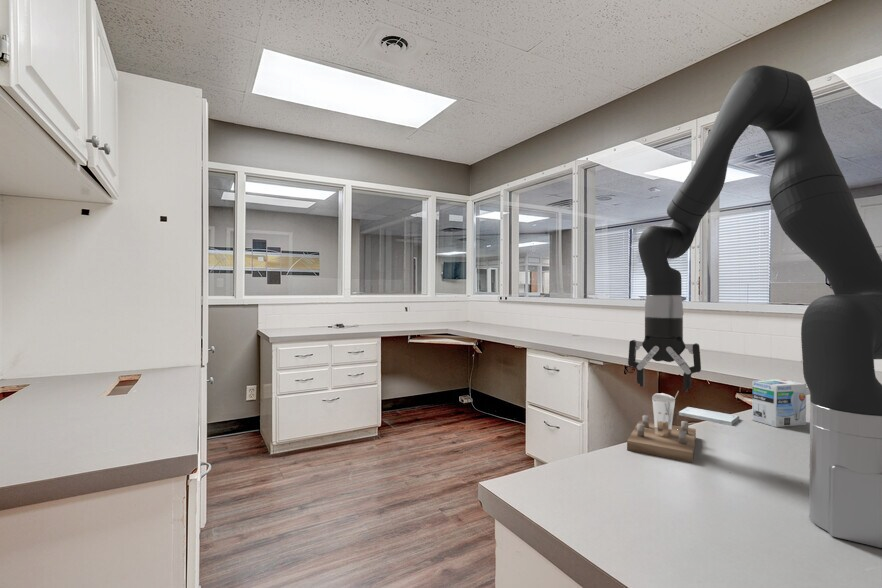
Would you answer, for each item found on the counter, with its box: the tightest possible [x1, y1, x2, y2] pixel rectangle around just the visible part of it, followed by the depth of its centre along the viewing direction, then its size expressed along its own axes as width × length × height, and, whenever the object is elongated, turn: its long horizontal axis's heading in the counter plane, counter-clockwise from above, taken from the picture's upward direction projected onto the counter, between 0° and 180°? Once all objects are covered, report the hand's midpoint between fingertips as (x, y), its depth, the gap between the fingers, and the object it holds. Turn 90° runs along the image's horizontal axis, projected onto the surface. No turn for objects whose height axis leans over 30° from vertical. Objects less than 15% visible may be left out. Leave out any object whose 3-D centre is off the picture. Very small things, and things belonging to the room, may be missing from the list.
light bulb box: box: [751, 378, 807, 428], centre depth 111 cm, size 11×7×11 cm, turn 105°
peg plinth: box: [626, 414, 697, 464], centre depth 94 cm, size 18×12×4 cm, turn 147°
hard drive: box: [678, 406, 740, 426], centre depth 115 cm, size 2×8×12 cm
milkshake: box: [651, 390, 680, 437], centre depth 94 cm, size 4×5×10 cm
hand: (663, 388), depth 94 cm, fingers open, 8 cm apart
